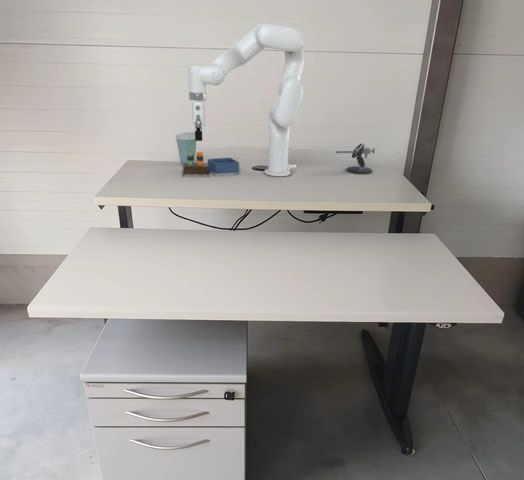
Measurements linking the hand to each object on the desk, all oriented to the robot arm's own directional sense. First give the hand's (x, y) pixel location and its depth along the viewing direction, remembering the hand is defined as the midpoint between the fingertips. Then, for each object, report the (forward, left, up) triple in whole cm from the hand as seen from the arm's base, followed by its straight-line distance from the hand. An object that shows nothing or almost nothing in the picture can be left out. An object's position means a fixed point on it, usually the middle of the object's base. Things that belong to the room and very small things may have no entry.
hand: (198, 138), depth 228 cm
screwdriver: (0, 0, -15) cm, 15 cm away
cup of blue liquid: (-1, -21, -16) cm, 26 cm away
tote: (-12, -1, -16) cm, 20 cm away
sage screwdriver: (+4, -1, -15) cm, 16 cm away
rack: (+2, -1, -16) cm, 16 cm away
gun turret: (-77, +16, -16) cm, 80 cm away
